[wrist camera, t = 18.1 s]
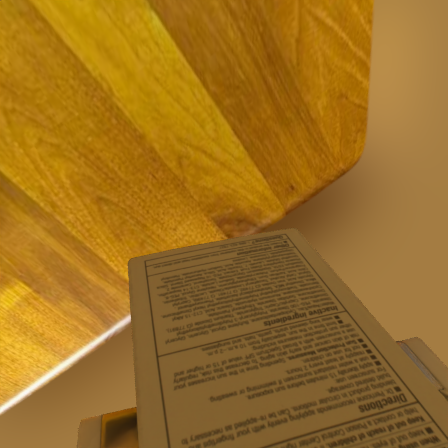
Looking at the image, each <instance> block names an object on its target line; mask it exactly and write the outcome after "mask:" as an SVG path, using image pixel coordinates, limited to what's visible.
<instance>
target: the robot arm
mask: <svg viewBox="0 0 448 448" xmlns="http://www.w3.org/2000/svg"><path fill="white" fill-rule="evenodd" d="M396 342H397V344H398V345H399V346H400V347H401V348H402V350H403V351H404V352H405V353H406V354H407V355H408V356H409V358H410V359H411V360H412V361H413V362H414V363H415V364H416V366H417V367H418V368H419V369H420V370H421V371H422V372H423V374H424V375H425V376H426V377H427V378H428V379H429V380H430V382H431V383H432V384H433V385H434V386H435V387H436V388H437V389H438V391H439V392H440V393H441V394H442V395H443V396H444V397H445V399H446V400H447V401H448V368H447V367H446V365H445V364H443V362H442V361H441V360H440V359H439V358H438V357H437V356H436V355H435V354H434V353H433V351H432V350H431V349H430V348H429V347H428V346H427V345H426V344H425V343H424V342H423V341H422V340H421V339H419V338H418V337H414V338H410V339H406V340H403V341H396ZM78 431H79V432H78V441H77V448H139V440H138V424H137V407H134V408H129V409H125V410H121V411H116V412H112V413H107V414H103V415H99V416H94V417H90V418H86V419H82V420H81V422H80V425H79V430H78Z"/></svg>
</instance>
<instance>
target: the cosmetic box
mask: <svg viewBox="0 0 448 448" xmlns="http://www.w3.org/2000/svg"><path fill="white" fill-rule="evenodd" d="M128 276H129V294H130V311H131V325H132V341H133V356H134V372H135V387H136V405H137V424H138V440H139V448H448V401H447V400H446V399H445V397H444V396H443V395H442V394H441V393H440V392H439V391H438V389H437V388H436V387H435V386H434V385H433V384H432V383H431V382H430V380H429V379H428V378H427V377H426V376H425V375H424V374H423V372H422V371H421V370H420V369H419V368H418V367H417V366H416V364H415V363H414V362H413V361H412V360H411V359H410V358H409V356H408V355H407V354H406V353H405V352H404V351H403V350H402V348H401V347H400V346H399V345H398V344H397V342H396V341H395V340H394V339H393V338H392V337H391V336H390V335H389V333H388V332H387V331H386V330H385V329H384V328H383V327H382V326H381V325H380V323H379V322H378V321H377V320H376V319H375V318H374V316H373V315H372V314H371V313H370V312H369V311H368V309H367V308H366V307H365V306H364V305H363V304H362V302H361V301H360V300H359V299H358V298H357V297H356V296H355V294H354V293H353V292H352V291H351V290H350V289H349V287H348V286H347V285H346V284H345V283H344V282H343V281H342V279H341V278H340V277H339V276H338V275H337V274H336V273H335V272H334V270H333V269H332V268H331V267H330V266H329V265H328V264H327V262H326V261H325V260H324V259H323V258H322V257H321V256H320V255H319V253H318V252H317V251H316V250H315V249H314V248H313V247H312V245H311V244H310V243H309V242H308V241H307V240H306V239H305V237H304V236H303V235H302V234H301V233H300V232H299V230H297V229H295V228H290V229H284V230H278V231H273V232H266V233H259V234H254V235H248V236H243V237H236V238H232V239H227V240H221V241H216V242H211V243H205V244H199V245H193V246H188V247H183V248H177V249H172V250H167V251H163V252H159V253H154V254H149V255H144V256H140V257H135V258H132V259H130V260H129V261H128Z"/></svg>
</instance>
